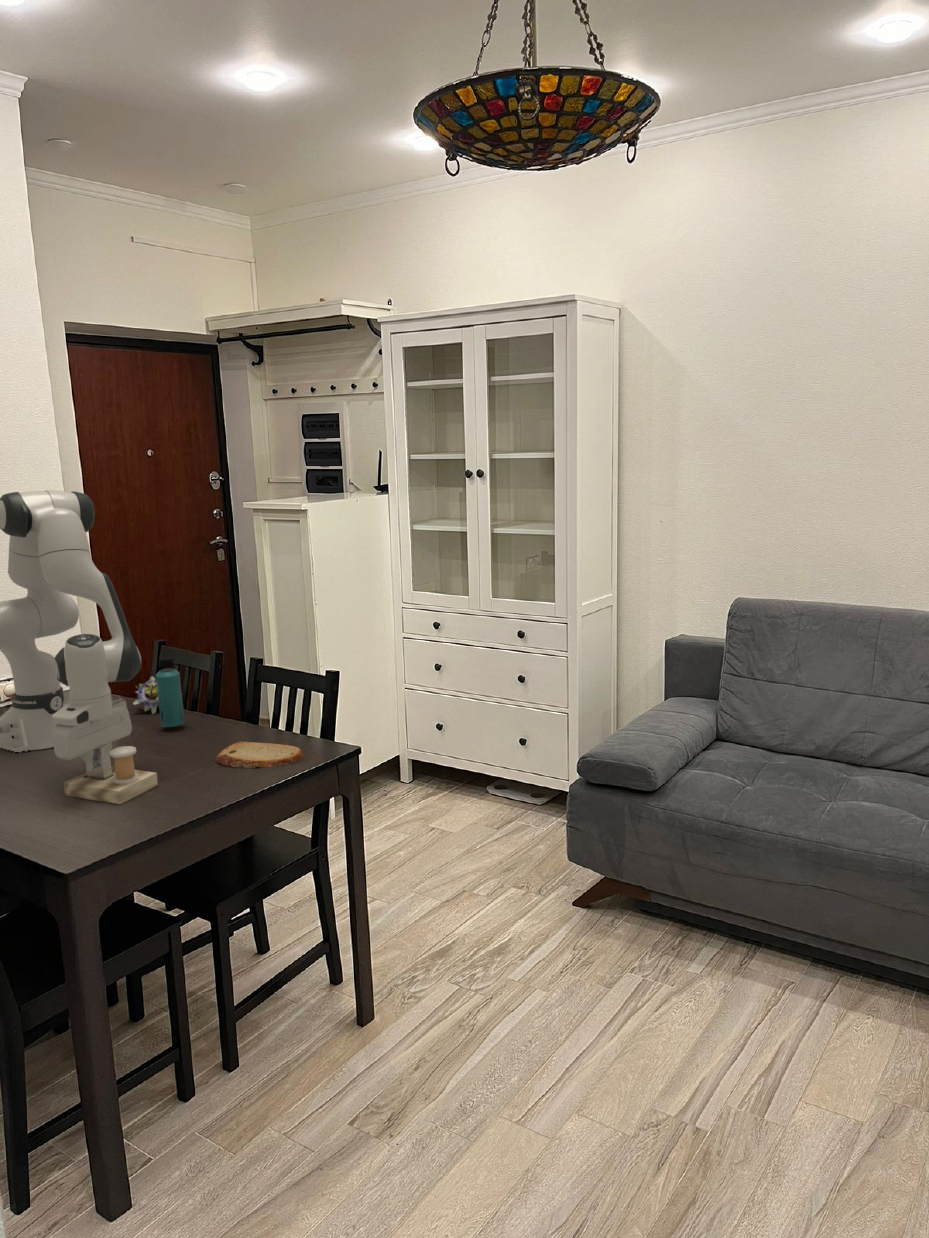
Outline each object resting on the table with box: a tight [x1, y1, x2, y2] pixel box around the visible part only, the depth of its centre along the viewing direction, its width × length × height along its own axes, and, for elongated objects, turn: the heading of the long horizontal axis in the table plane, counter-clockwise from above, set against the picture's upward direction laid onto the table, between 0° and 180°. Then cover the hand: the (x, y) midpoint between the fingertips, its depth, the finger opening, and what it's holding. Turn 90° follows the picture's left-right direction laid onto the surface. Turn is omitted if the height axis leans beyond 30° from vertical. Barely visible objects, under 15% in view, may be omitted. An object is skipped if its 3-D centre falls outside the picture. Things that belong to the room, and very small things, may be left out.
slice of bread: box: [215, 740, 305, 769], centre depth 232 cm, size 18×18×4 cm
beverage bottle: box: [155, 656, 186, 728], centre depth 257 cm, size 6×7×20 cm
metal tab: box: [84, 744, 112, 780], centre depth 214 cm, size 5×2×8 cm, turn 67°
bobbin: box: [109, 745, 139, 785], centre depth 211 cm, size 6×6×7 cm
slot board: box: [63, 766, 159, 805], centre depth 214 cm, size 16×12×3 cm
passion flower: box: [131, 675, 159, 715], centre depth 278 cm, size 11×11×12 cm
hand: (98, 765), depth 214 cm, fingers closed on metal tab, 2 cm apart
